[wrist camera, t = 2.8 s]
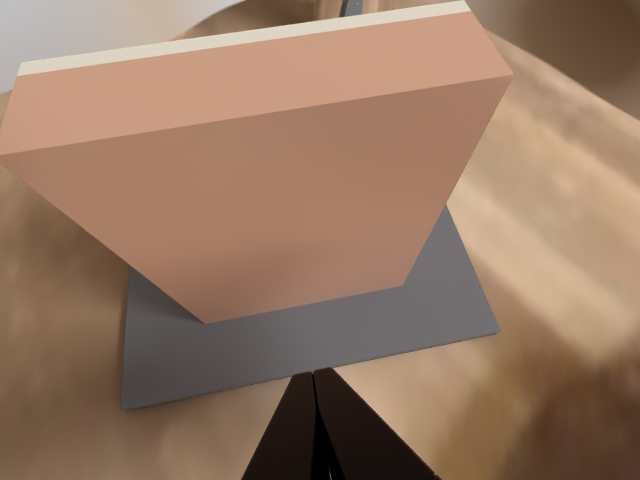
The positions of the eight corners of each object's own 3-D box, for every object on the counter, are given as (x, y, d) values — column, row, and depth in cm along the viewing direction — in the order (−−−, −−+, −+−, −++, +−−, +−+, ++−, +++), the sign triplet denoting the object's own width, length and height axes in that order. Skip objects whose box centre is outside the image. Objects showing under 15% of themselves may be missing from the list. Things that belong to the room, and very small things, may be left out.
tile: (402, 285, 16) (514, 74, 6) (205, 324, 15) (-9, 156, 6) (387, 240, 17) (463, 0, 7) (203, 274, 17) (21, 62, 7)
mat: (494, 334, 16) (500, 331, 15) (127, 410, 14) (119, 409, 14) (392, 91, 23) (394, 83, 22) (143, 130, 22) (139, 122, 21)
